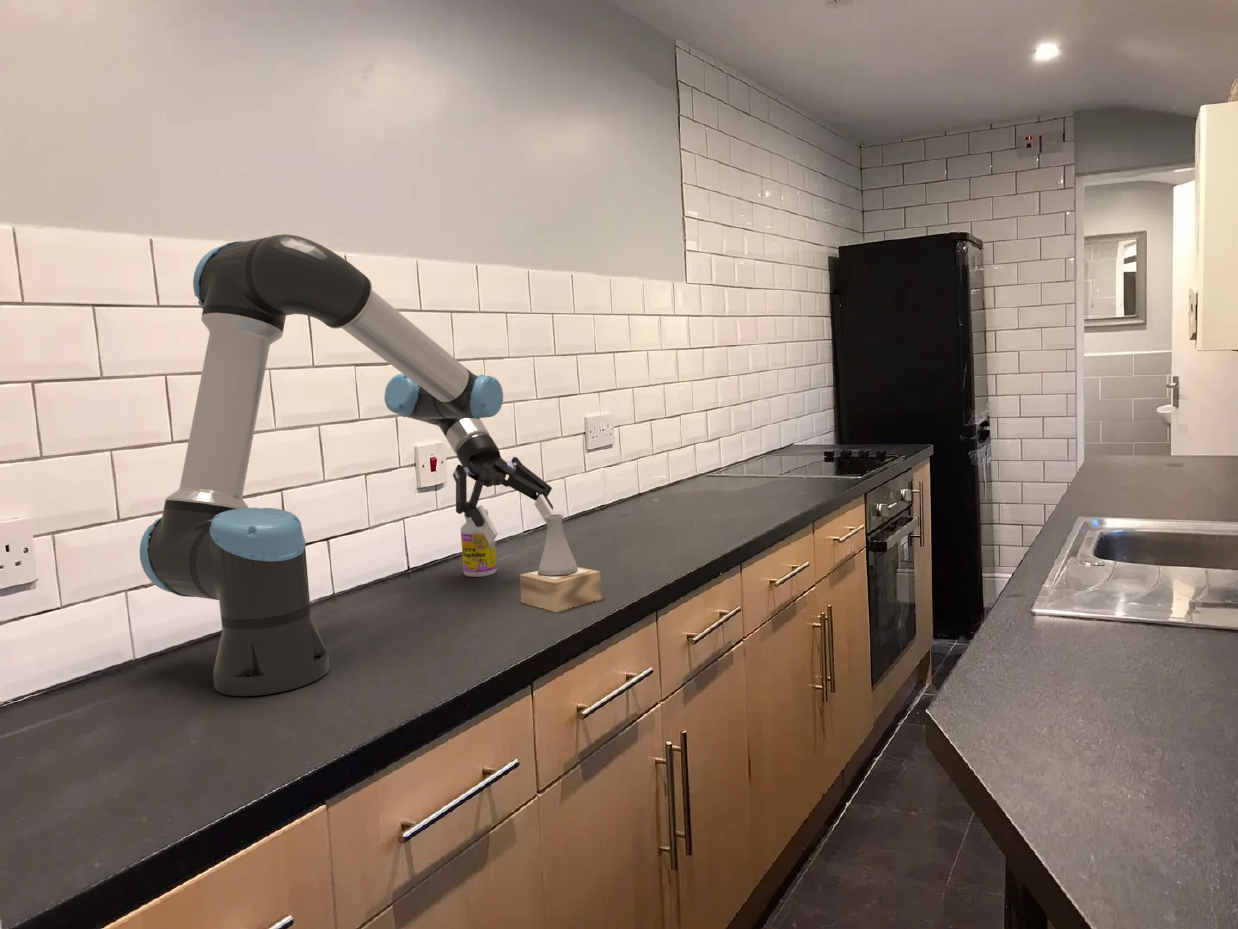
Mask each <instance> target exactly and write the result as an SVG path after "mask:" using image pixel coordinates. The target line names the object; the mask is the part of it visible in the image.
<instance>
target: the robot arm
mask: <svg viewBox="0 0 1238 929" xmlns="http://www.w3.org/2000/svg"><path fill="white" fill-rule="evenodd" d="M192 287H193V293H194V296H195V297H197V299H198V301H197V302H198V305H199V308H201V310H202V312H201V322H202V324H204V326H205V327H206V329H207V330H208V332H209V335H208V340H207V346H206V350H205V355H204V360H203V365H202V370H201V376H200V381H199V385H198V391H197V396H196V402H195V407H194V411H193V418H192V422H191V427H190V428H191V429H190V432H189V438H188V442H187V447H186V448H187V449H186V452H185V453H186V454H185V458H184V464H183V468H182V474H181V479H180V485H179V488H178V489H177V490H176V491H174V492H173V493H172V494H170V495H169V496H167V497H166V498H165V501H164V506H163V510H162V515H161V517H159V518H157V519H156V520H155V521H154V522H153V523H152V524H150V525H149V526H148V527H147V528H146V530H145V531H144V533H143V535H142V536H141V537H142V538H141V540H140V545H139V561H140V564H141V565H140V566H141V567H142V570H143V572H144V573H145V575H146V577H147V578H148V579H149V580H150V582H151V583H152V584H153V585H155V586H156V587H158V589H161V590H162V591H166V592H168V593H172V594H174V595H176V596H179V597H188V598H201V599H208V600H216V601H218V602H219V612H220V620H221V628H222V630H221V636H220V640H219V645H218V648H217V653H216V657H215V661H214V666H213V669H212V671H213V672H212V674H213V676H212V677H213V684H214V686H213V687H214V689H215V691H216V692H218V693H220V694H223V695H227V696H234V697H255V696H264V695H265V696H266V695H272V694H278V693H283V692H287V691H290V690H295V689H297V688H301V687H303V686H306V685H309V684H312V683H313V682H316V681H318V680H320V679H322V677H324V676H325V675H326V674H328V672H329V670H330V660H329V658H330V657H329V653H328V650H327V648H326V645H325V643H324V641H323V639H322V637H321V635H320V633H319V630H318V629H317V626H316V624H315V622H314V620H313V618H312V612H311V611H312V610H311V609H312V608H311V601H310V600H311V599H310V598H311V597H310V588H309V577H308V565H307V564H308V563H307V553H306V552H307V550H306V539H305V536H304V533H303V527H302V522H301V520H300V519H299V518H298V516H297V515H295V514H294V513H292V512H291V511H289V510H284V509H280V508H273V507H272V508H271V507H264V508H263V507H262V508H261V507H260V508H259V507H249V505H248V504H247V503H246V502H245V501H244V498H243V495H244V489H245V484H246V477H247V471H248V467H249V462H250V456H251V450H252V445H253V440H254V436H255V435H254V433H255V429H256V424H257V423H256V422H257V418H258V413H259V408H260V407H259V406H260V403H261V402H260V401H261V395H262V391H263V390H262V389H263V386H264V384H263V383H264V379H265V373H266V368H267V362H268V357H269V351H270V347H271V345H272V344H273V343H275V342H276V341H278V340H280V339H282V338H283V335H284V334H283V333H284V329H285V323H286V317H287V316H290V315H303V316H306V317H307V316H308V317H311V318H314V319H316V320H319V321H320V322H322V323H323V324H325V325H326V326H327V327H329V328H330V329H334V330H335V329H343V330H344V332H346V333H348V335H350V336H352V337H353V338H354V339H356V340H357V341H359V343H361V344H362V345H364V346H365V347H367V348H368V349H370V351H372V352H374V353H375V354H376V355H377V356H378V357H380V358H381V359H382V360H384V361H385V362H386V363H388V364H389V365H391V366H392V367H394V369H396V370H398V371H399V372H400V373H399V374H397V375H394V376H393V377H392V378H391V379H390V380H389V381H388V383H387V384H386V386H385V390H384V391H385V392H384V404H385V406H386V408H387V409H388V410H389V411H390V412H392V413H394V414H396V415H399V416H401V417H402V418H409V419H413V420H417V421H420V422H424V423H427V424H431V425H434V426H437V427H439V429H440V430H441V431H442V432H441V433H442V434H444V437H445V438H446V440H447V442H448V444H449V445H450V447H451V449H452V451H453V452H454V454H455V455H456V457H457V460H458V461H459V462H460V464H457V465H456V466H455V469H454V471H453V473H452V477H453V479H454V481H455V512H456V513H457V514H459V515H461V514H464V513H465V516H466V517H467V518H470V517H471V519H472V520H473V522H474V524H475V526H477V527H480V528H481V530H482V532H483V533H484V535H485V537H486V539H487V540H488V542H489V543H493V541H494V540H495V541H496V537H497V536H498V534H499V533H498V531H497V529H496V527H495V526H494V524H493V522H492V520H491V519H490V517H489V514H488V515H487V513H486V512H485V510H484V509H485V508H484V506H483V505H478V502H479V498H480V496H481V493H482V491H483V487H484V486H485V487H486V488H489V487H490V488H491V487H493V486H504V487H506V488H509V487H510V488H512V489H513V490H515V491H517V492H519V493H520V494H523V495H524V496H526V497H528V498H530V499H531V500H534V506H535V507H536V509H537V511H538V512H539V515H540V516H541V518H542V519H543V521H544V522H545V524H546V525H547V520H546V519H545V516H546V515H550V514H556V513H555V511H554V505H553V504H552V503H551V501H550V500H549V495H550V493H551V491H552V490H553V488H552V486H551V485H550V484H548V483H547V482H546V481H544V480H543V479H542V478H541V477H539V476H538V475H537V474H536V473H534V472H533V471H531V470H530V469H529V468H527V466H525V465H523V463H522V462H521V460H520V458H518V457H517V456H513V457H512V459H511V460H508V461H506V460H504V459H503V457H502V456H501V453H500V449H499V447H498V445H497V444H496V442H495V441H494V440H493V438H492V436H491V434H490V432H489V431H488V429H487V428H486V426H485V424H484V423H483V422H482V418H483V419H484V418H485V419H486V418H491V417H495V416H496V415H497V414H498V413H499V412H500V411H501V409H502V405H503V402H504V389H503V388H502V385H501V383H500V382H499V380H498V379H497V378H496V377H495V376H493V375H492V376H491V375H485V374H480V375H476V374H475V373H473V372H472V371H470V369H468V368H467V367H466V366H464V365H463V364H462V363H460V362H459V361H458V360H457V359H456V358H455V357H453V356H452V355H451V354H450V353H449V352H447V350H445V349H444V348H442V346H440V345H439V344H438V343H437V342H435V341H434V340H433V339H432V338H431V337H429V336H428V335H427V334H426V333H425V332H423V331H422V330H421V329H420V328H419V327H417V326H416V325H415V324H414V323H413V322H411V321H410V320H409V319H408V318H406V316H404V314H402V313H401V312H399V310H396V308H395V307H394V306H392V305H391V304H390V303H389V302H387V300H385V299H384V298H382V297H381V296H380V295H379V294H378V293H376V291H374V290H373V285H372V282H371V280H370V278H368V277H367V275H365V274H364V273H363V272H361V271H360V269H358V268H357V267H356V266H354V265H353V264H352V263H350V261H347V260H346V259H344V258H343V257H342V256H341V255H339V254H337V253H335V252H334V251H332V250H331V249H329V248H327V247H325V246H324V245H322V244H320V243H318V242H315V241H313V240H312V239H308V238H306V237H303V236H299V235H293V234H287V233H286V234H285V233H283V234H275V235H271V236H268V237H261V238H256V239H252V240H251V239H250V240H247V241H245V240H243V241H239V240H236V241H232V242H227V243H224V244H222V245H221V246H217V247H215V248H213V249H211V250H208V252H207V253H206V254H204V255H203V256H202V258H201V259H200V260H199V262H198V264H197V265H196V267H195V270H194V274H193V278H192ZM507 476H508V478H507V479H506V477H507ZM467 477H468V478H471V479H472V480H474V481H475V482H474V485H473V488H472V493H471V495H470V498H469V501H467V498H468V497H467V496H468V494H467V493H468V492H467V491H468V490H467ZM465 516H464V517H465Z"/></svg>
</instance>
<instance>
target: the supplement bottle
mask: <svg viewBox="0 0 1238 929" xmlns="http://www.w3.org/2000/svg"><path fill="white" fill-rule="evenodd" d="M484 510H485V512H486V513H487V515H488V516H489V511H488V510H489V509H486V508H484ZM463 514H464V515H463V516H464V518H465V523H464V524H463V525H462V526H461V527H460V539H461V540H460V541H461V542H460V543H461V553H462V554H461V555H462V568H463V569H462V570H463V575H465V576H466V577H470V578H471V577H472V578H479V577H481V578H482V577H488V576H491V575H493V574H495V573H496V572H497V568H498V566H497V565H498V564H497V552H496V539H495V540H494V541H493V543H489V542H488V540H487V539H486V537H485V535H484V533H483V532H482V530H481V528H480V527H477V526H475V524H474V522H473V520H472V519H471V517H470V518H467V517H466V516H465V513H464V512H463Z"/></svg>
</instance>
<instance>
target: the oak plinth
mask: <svg viewBox="0 0 1238 929" xmlns="http://www.w3.org/2000/svg"><path fill="white" fill-rule="evenodd" d="M577 567H578V568H577V571H575V572H572V573H569V574H565V575H543V574H538V569H537V570H534V571H530V572H525V573H521V574H519V586H520V587H519V588H520V602H522V603H521V604H524V603H525V605H528V606H531V607H532V606H533V607H536V608H539V609H542V608H543V609H542V610H547V611H550V612H554V613H560V612H563V611H567V610H569V608H570V609H572V607H574V608H576V607H580V606H583V605H584V606H585V605H587V603H588V604H591V603H594V602H593V601H595V602H598V601H601V600H602V598H603V596H602V583H601V580H602V578H601V571H599V570H595V569H590V568H586V567H580V566H577ZM590 602H591V603H590Z"/></svg>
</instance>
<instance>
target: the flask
mask: <svg viewBox="0 0 1238 929" xmlns="http://www.w3.org/2000/svg"><path fill="white" fill-rule="evenodd" d="M563 518H564V514H563V513H555V514H550V515H546V516H545V519H546V520H547V524H546V526H547V527H546V528H547V529H546V539H545V543H544V548H543V551H542V555H541V558H540V563H539V565H538V569H537V570H538V574H543V575H565V574H569V573H572V572H575V571H577V568H578V567H579V566H578V564H577V561H576V560H575V558H574V556H573V553H572V551H571V548H570V546H569V543H568V541H567V539H566V536H565V533H564V528H563Z"/></svg>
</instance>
